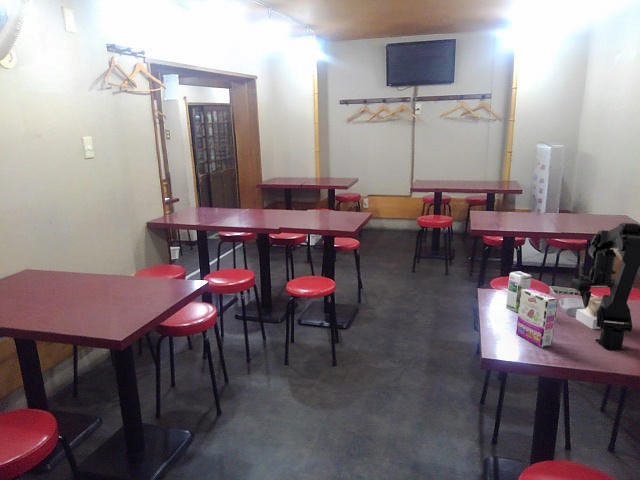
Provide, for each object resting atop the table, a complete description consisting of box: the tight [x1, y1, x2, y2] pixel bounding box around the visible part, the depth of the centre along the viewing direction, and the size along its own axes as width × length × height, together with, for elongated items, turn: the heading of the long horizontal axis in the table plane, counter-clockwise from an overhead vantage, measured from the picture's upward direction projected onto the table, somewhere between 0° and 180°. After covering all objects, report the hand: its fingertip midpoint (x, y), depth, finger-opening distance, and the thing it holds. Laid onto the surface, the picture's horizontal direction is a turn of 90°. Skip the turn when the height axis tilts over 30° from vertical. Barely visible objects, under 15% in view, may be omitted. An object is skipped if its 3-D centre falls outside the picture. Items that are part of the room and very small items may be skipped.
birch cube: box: [586, 297, 602, 316], centre depth 161 cm, size 5×5×5 cm
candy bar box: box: [515, 287, 559, 349], centre depth 148 cm, size 11×5×16 cm, turn 21°
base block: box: [575, 309, 618, 330], centre depth 162 cm, size 9×9×4 cm
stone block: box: [558, 297, 586, 317], centre depth 173 cm, size 12×5×10 cm
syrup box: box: [505, 271, 532, 313], centre depth 173 cm, size 6×6×14 cm
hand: (597, 307), depth 161 cm, fingers open, 8 cm apart
